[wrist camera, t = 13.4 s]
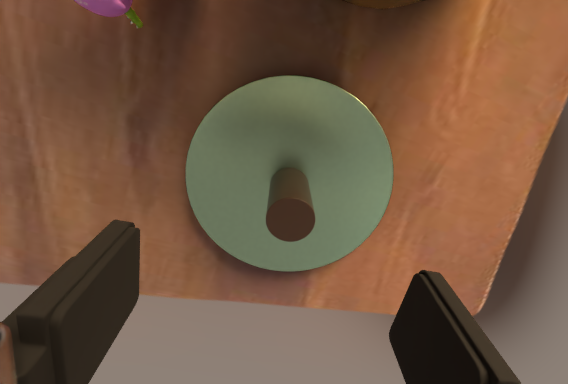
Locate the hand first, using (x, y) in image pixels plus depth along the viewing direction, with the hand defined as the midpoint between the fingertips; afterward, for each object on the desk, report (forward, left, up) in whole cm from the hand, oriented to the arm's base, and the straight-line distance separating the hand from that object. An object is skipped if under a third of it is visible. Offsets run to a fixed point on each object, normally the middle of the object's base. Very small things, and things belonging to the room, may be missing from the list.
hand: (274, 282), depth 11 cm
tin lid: (+1, +1, -13) cm, 13 cm away
